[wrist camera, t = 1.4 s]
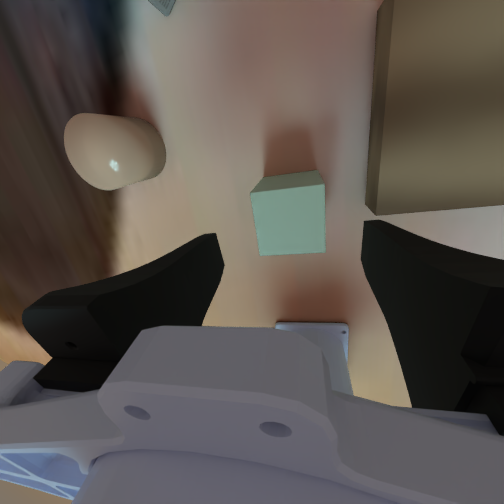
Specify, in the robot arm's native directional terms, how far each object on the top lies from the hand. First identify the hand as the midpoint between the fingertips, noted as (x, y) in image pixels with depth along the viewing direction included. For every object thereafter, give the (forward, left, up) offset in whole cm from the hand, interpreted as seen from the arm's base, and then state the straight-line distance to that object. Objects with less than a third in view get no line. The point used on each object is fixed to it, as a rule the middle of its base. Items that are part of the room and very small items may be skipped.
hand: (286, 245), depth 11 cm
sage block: (0, 0, -10) cm, 10 cm away
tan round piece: (+6, +13, -10) cm, 17 cm away
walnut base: (+5, -12, -10) cm, 16 cm away
